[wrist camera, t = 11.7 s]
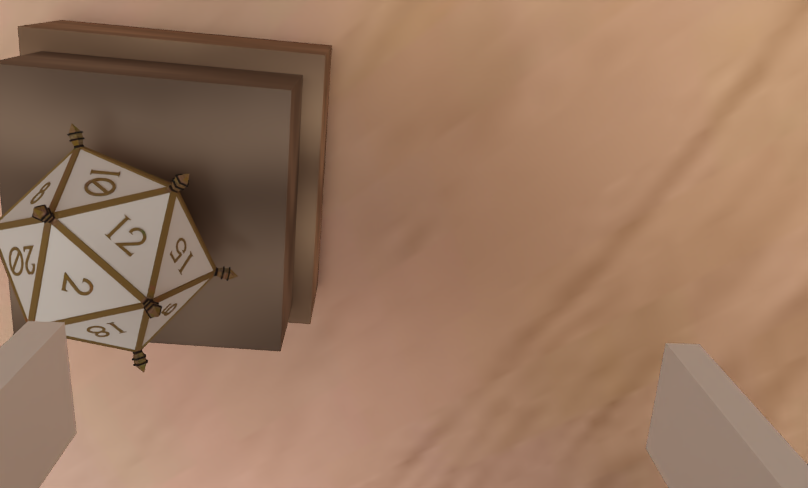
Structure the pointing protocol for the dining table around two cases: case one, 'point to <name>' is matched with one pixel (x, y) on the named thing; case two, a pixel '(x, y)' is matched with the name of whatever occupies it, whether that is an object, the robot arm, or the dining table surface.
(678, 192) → the dining table surface
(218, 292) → the walnut tower base
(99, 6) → the dining table surface
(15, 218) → the game die
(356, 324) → the dining table surface
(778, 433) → the robot arm
